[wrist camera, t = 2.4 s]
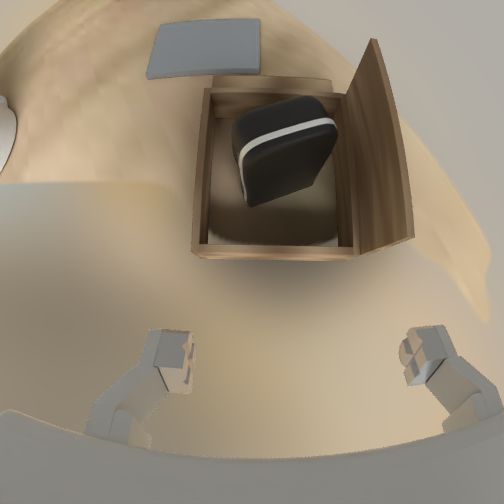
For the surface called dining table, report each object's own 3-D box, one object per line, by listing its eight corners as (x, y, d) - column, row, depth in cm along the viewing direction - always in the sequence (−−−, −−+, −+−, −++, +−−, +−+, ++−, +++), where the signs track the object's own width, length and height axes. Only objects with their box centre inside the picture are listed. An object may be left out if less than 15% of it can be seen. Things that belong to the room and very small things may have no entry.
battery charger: (299, 152, 29) (321, 81, 18) (315, 185, 29) (348, 126, 18) (232, 175, 29) (221, 109, 18) (246, 210, 29) (243, 159, 17)
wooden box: (200, 258, 28) (161, 231, 16) (213, 78, 31) (199, -6, 18) (349, 261, 28) (414, 237, 16) (334, 83, 31) (364, 4, 18)
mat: (148, 79, 31) (145, 74, 30) (162, 29, 32) (160, 24, 31) (259, 74, 31) (259, 68, 30) (259, 24, 32) (259, 18, 31)
